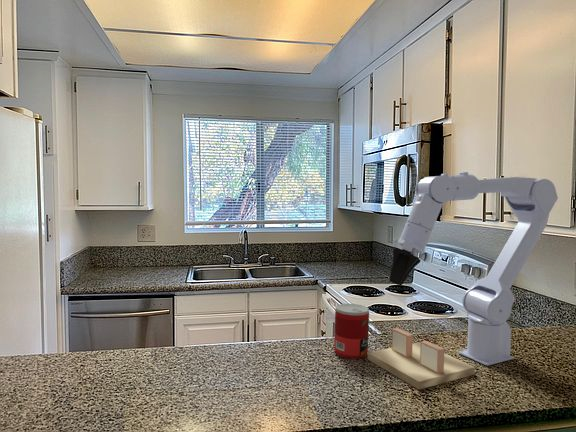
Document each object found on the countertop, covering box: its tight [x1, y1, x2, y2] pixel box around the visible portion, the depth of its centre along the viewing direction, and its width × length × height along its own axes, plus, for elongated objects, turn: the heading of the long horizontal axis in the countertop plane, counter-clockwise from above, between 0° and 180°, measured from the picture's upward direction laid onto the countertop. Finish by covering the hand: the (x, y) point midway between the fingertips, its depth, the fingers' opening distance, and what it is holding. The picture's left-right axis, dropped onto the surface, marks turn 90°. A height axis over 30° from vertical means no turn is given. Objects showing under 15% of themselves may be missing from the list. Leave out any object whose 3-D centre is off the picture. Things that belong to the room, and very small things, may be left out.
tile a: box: [391, 327, 414, 357], centre depth 94 cm, size 2×5×5 cm, turn 27°
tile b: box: [420, 340, 445, 374], centre depth 86 cm, size 2×5×5 cm, turn 27°
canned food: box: [333, 303, 370, 360], centre depth 98 cm, size 8×8×11 cm
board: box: [367, 341, 476, 391], centre depth 91 cm, size 16×16×2 cm
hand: (395, 283), depth 91 cm, fingers open, 7 cm apart
